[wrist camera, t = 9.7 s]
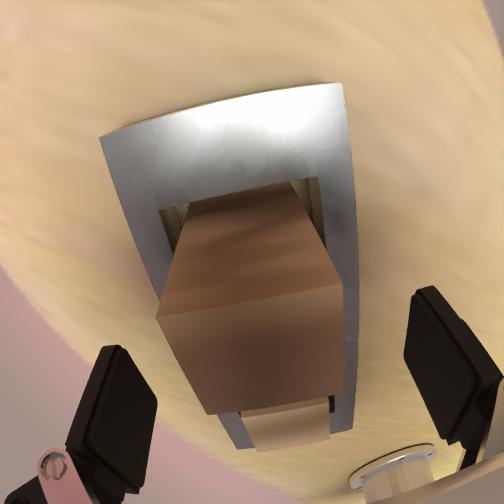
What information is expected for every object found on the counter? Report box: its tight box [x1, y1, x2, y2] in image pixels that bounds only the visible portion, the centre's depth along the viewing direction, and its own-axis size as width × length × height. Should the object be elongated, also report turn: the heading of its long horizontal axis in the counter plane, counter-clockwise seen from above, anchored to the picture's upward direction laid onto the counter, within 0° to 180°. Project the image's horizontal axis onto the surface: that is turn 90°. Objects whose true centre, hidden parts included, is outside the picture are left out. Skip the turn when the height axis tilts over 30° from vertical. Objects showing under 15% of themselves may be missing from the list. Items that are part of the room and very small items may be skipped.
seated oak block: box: [241, 396, 330, 451], centre depth 18 cm, size 5×5×5 cm
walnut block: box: [156, 182, 344, 415], centre depth 12 cm, size 5×5×8 cm
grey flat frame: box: [99, 82, 359, 450], centre depth 17 cm, size 23×9×2 cm, turn 11°
